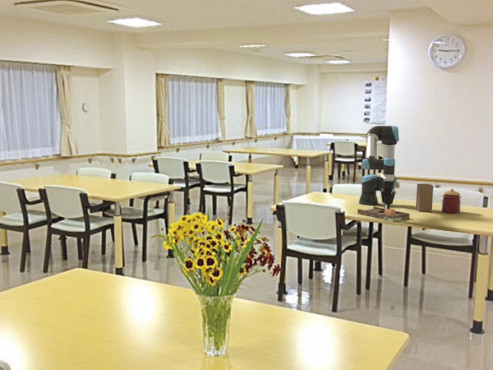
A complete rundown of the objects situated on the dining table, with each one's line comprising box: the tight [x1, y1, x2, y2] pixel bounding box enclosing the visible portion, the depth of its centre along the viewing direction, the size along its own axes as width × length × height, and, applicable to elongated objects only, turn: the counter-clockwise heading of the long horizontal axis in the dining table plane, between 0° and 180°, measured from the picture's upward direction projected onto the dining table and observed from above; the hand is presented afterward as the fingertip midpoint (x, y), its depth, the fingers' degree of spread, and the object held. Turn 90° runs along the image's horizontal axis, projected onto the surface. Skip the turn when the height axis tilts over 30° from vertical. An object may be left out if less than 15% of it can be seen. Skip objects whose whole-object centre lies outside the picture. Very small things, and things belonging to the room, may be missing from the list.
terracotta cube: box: [385, 208, 397, 216], centre depth 369 cm, size 5×5×5 cm
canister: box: [441, 188, 462, 214], centre depth 395 cm, size 13×13×18 cm
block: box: [415, 183, 434, 213], centre depth 400 cm, size 10×10×20 cm
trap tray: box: [357, 206, 410, 223], centre depth 380 cm, size 32×18×4 cm, turn 36°
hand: (386, 213), depth 372 cm, fingers closed
